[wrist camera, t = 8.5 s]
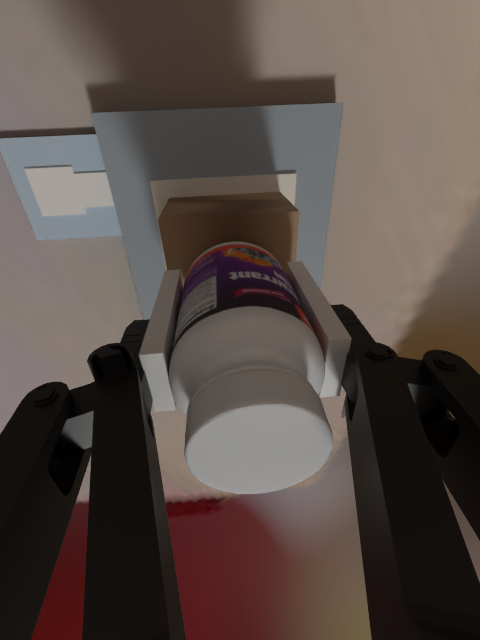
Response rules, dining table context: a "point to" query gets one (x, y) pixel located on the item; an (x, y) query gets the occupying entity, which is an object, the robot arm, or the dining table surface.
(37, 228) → the blueprint tile
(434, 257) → the dining table surface
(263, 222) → the walnut block
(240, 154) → the board
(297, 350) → the pill bottle
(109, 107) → the dining table surface
